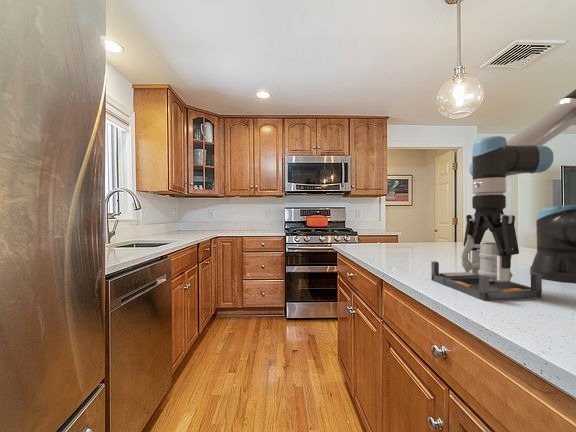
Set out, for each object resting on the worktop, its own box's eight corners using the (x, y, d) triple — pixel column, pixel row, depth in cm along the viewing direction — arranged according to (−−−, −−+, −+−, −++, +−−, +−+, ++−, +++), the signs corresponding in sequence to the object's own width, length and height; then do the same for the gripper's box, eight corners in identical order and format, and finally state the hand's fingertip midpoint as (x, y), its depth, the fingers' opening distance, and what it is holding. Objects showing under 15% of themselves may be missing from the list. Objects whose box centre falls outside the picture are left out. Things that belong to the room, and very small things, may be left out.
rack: (477, 278, 92) (477, 260, 92) (541, 297, 71) (542, 274, 71) (431, 280, 90) (431, 261, 90) (483, 300, 69) (483, 276, 69)
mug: (512, 284, 72) (513, 238, 71) (459, 278, 79) (459, 235, 79) (511, 278, 78) (512, 235, 77) (462, 273, 85) (462, 233, 85)
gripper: (449, 196, 87) (449, 268, 88) (511, 191, 66) (510, 287, 66) (471, 196, 88) (471, 268, 88) (539, 191, 67) (539, 286, 67)
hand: (488, 276), depth 77 cm, fingers closed on mug, 9 cm apart
